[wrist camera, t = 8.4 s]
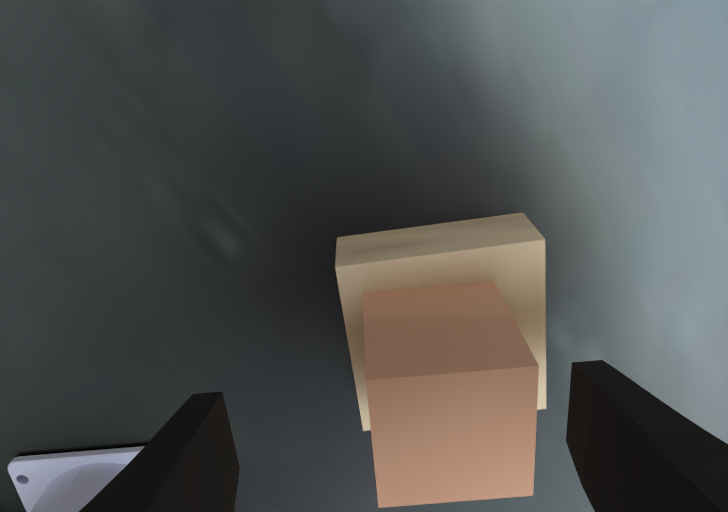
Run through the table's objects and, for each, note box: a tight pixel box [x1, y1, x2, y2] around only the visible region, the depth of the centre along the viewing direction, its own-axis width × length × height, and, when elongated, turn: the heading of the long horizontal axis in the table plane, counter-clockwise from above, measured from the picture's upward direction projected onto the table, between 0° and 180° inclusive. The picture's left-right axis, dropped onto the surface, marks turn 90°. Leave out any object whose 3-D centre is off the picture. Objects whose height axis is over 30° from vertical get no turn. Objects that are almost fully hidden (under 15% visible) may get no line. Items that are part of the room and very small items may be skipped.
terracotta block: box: [362, 281, 539, 508], centre depth 18 cm, size 4×4×5 cm
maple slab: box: [335, 213, 546, 431], centre depth 22 cm, size 7×7×3 cm
